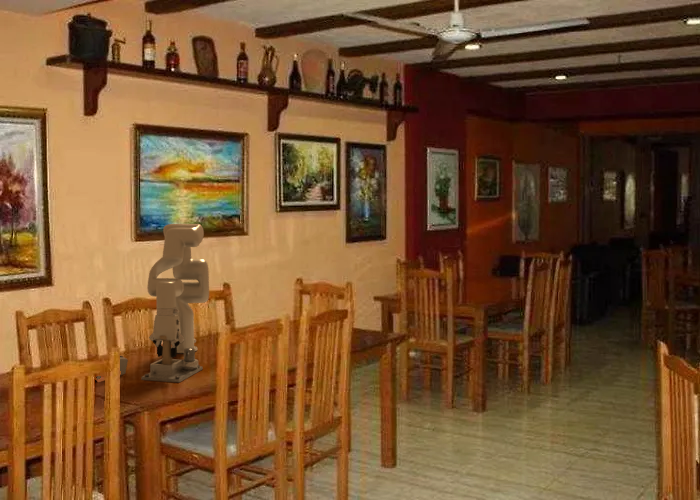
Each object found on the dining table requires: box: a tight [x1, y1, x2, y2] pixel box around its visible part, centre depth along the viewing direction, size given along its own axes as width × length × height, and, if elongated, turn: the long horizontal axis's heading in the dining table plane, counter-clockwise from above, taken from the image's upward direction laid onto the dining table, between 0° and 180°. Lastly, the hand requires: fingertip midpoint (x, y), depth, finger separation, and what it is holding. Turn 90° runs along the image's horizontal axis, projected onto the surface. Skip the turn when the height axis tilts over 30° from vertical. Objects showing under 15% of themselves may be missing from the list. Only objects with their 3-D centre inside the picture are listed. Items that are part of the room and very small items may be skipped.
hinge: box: [96, 355, 129, 380], centre depth 311 cm, size 17×5×10 cm, turn 157°
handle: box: [160, 336, 173, 365], centre depth 317 cm, size 5×6×15 cm
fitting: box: [141, 348, 203, 383], centre depth 317 cm, size 22×16×9 cm
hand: (166, 356), depth 316 cm, fingers open, 5 cm apart
